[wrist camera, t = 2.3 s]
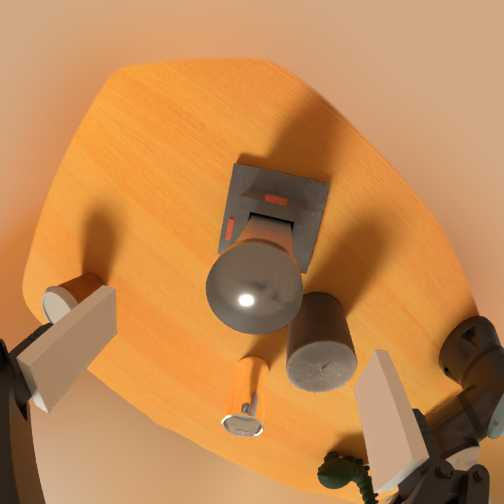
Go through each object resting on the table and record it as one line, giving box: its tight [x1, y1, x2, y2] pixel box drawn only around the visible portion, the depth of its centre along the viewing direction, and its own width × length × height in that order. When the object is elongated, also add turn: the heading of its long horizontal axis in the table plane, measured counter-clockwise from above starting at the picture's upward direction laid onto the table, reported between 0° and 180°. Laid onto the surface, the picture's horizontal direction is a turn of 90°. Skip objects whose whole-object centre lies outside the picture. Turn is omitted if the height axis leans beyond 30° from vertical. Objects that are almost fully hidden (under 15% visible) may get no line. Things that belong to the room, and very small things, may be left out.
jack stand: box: [218, 163, 329, 274], centre depth 38 cm, size 14×14×12 cm
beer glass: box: [222, 356, 269, 437], centre depth 45 cm, size 7×7×15 cm
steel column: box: [206, 213, 303, 335], centre depth 30 cm, size 6×6×24 cm
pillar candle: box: [286, 292, 357, 392], centre depth 41 cm, size 10×10×15 cm
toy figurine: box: [317, 452, 378, 504], centre depth 52 cm, size 9×19×25 cm
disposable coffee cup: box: [42, 273, 103, 324], centre depth 46 cm, size 10×10×12 cm
